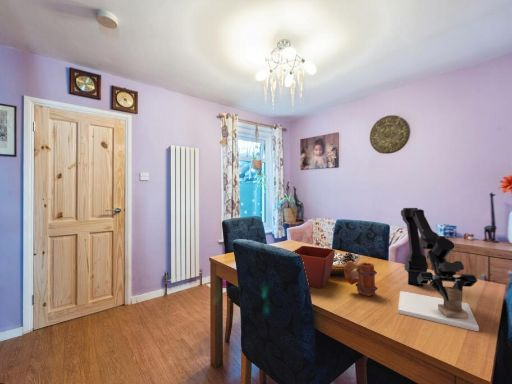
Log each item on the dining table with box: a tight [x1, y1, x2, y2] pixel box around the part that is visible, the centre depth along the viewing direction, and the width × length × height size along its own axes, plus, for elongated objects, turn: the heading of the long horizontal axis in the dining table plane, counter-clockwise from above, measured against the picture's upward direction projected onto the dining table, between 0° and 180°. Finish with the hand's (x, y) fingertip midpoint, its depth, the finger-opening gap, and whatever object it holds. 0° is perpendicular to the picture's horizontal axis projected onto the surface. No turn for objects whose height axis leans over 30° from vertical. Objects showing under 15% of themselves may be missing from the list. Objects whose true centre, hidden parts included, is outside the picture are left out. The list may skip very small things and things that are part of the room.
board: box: [397, 290, 480, 332], centre depth 98 cm, size 24×20×2 cm
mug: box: [343, 260, 378, 297], centre depth 115 cm, size 15×8×15 cm, turn 71°
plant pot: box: [292, 245, 336, 289], centre depth 129 cm, size 19×19×17 cm
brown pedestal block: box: [438, 285, 468, 319], centre depth 92 cm, size 7×6×10 cm
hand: (454, 301), depth 90 cm, fingers closed on brown pedestal block, 4 cm apart
